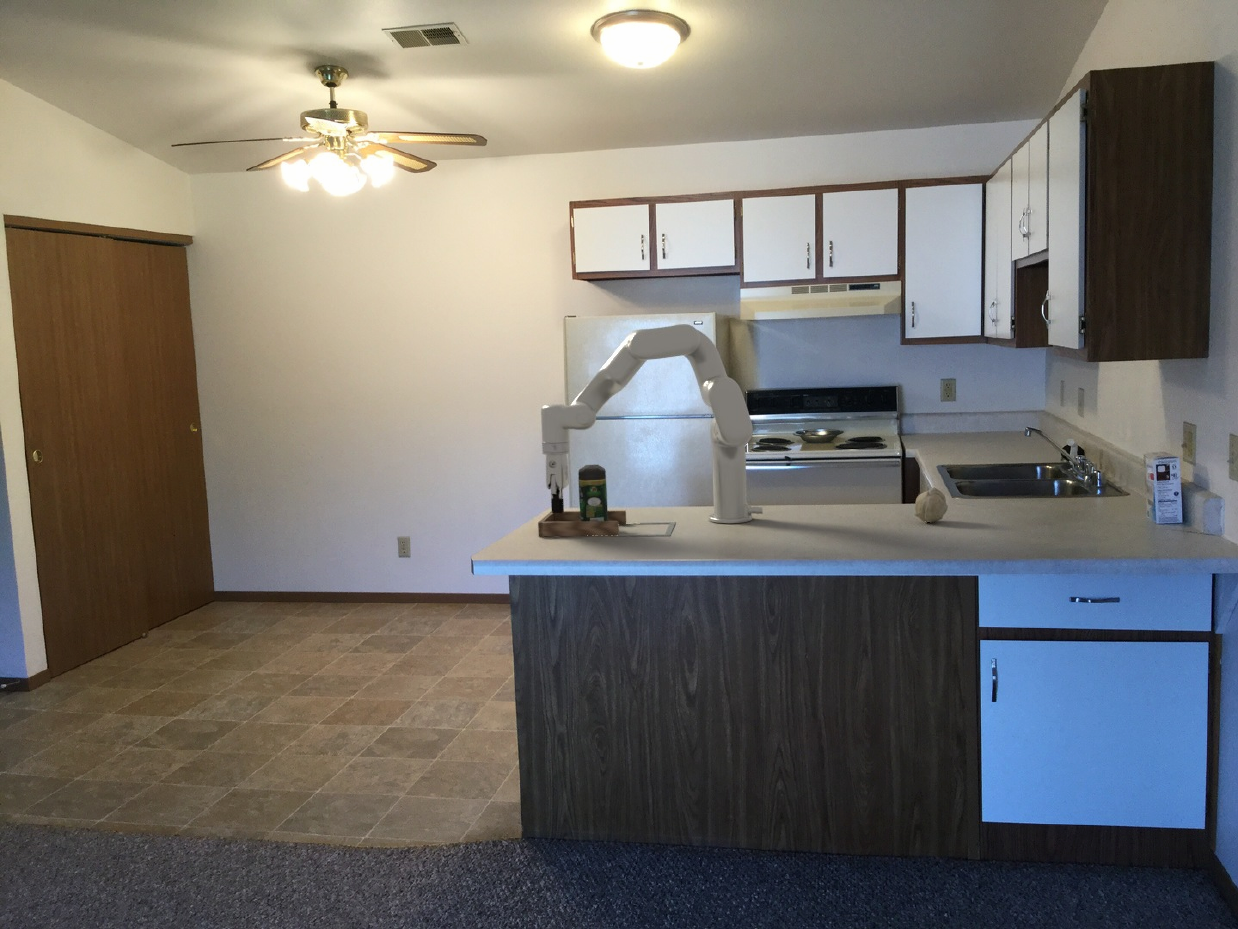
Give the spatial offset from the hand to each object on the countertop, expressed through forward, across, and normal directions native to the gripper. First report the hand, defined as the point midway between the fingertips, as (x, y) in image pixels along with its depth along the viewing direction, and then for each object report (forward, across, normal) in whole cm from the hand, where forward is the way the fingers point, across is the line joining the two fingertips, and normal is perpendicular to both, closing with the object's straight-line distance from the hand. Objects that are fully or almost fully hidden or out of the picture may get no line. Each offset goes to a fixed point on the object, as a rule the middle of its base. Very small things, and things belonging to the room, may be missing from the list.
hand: (557, 512), depth 275 cm
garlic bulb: (+4, +5, -103) cm, 104 cm away
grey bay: (+5, 0, -25) cm, 26 cm away
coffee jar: (+5, 0, -10) cm, 12 cm away
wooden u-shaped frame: (+5, 0, -7) cm, 9 cm away
